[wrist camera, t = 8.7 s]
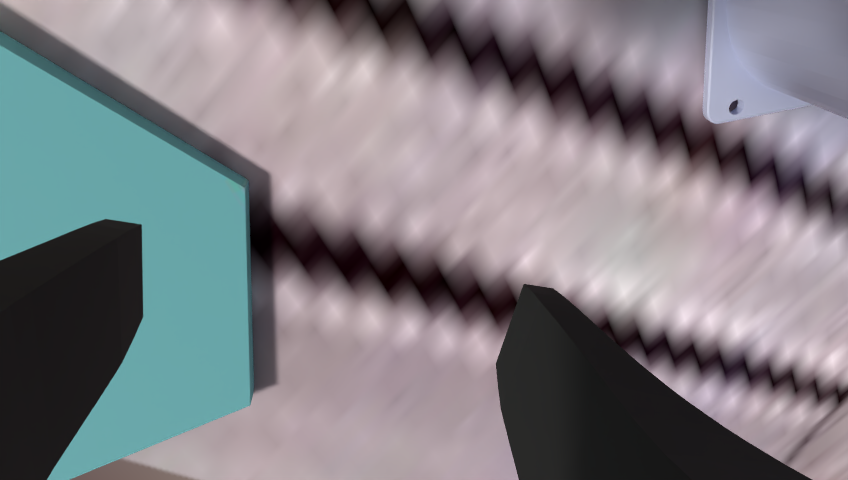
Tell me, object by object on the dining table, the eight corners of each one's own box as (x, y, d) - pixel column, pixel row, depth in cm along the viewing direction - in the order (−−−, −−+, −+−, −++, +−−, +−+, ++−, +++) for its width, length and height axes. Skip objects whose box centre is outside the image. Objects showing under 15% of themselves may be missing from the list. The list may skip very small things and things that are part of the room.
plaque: (111, -70, 18) (-391, 181, 20) (82, -73, 16) (-468, 204, 18) (355, 339, 25) (-21, 490, 27) (355, 368, 24) (-48, 528, 26)
